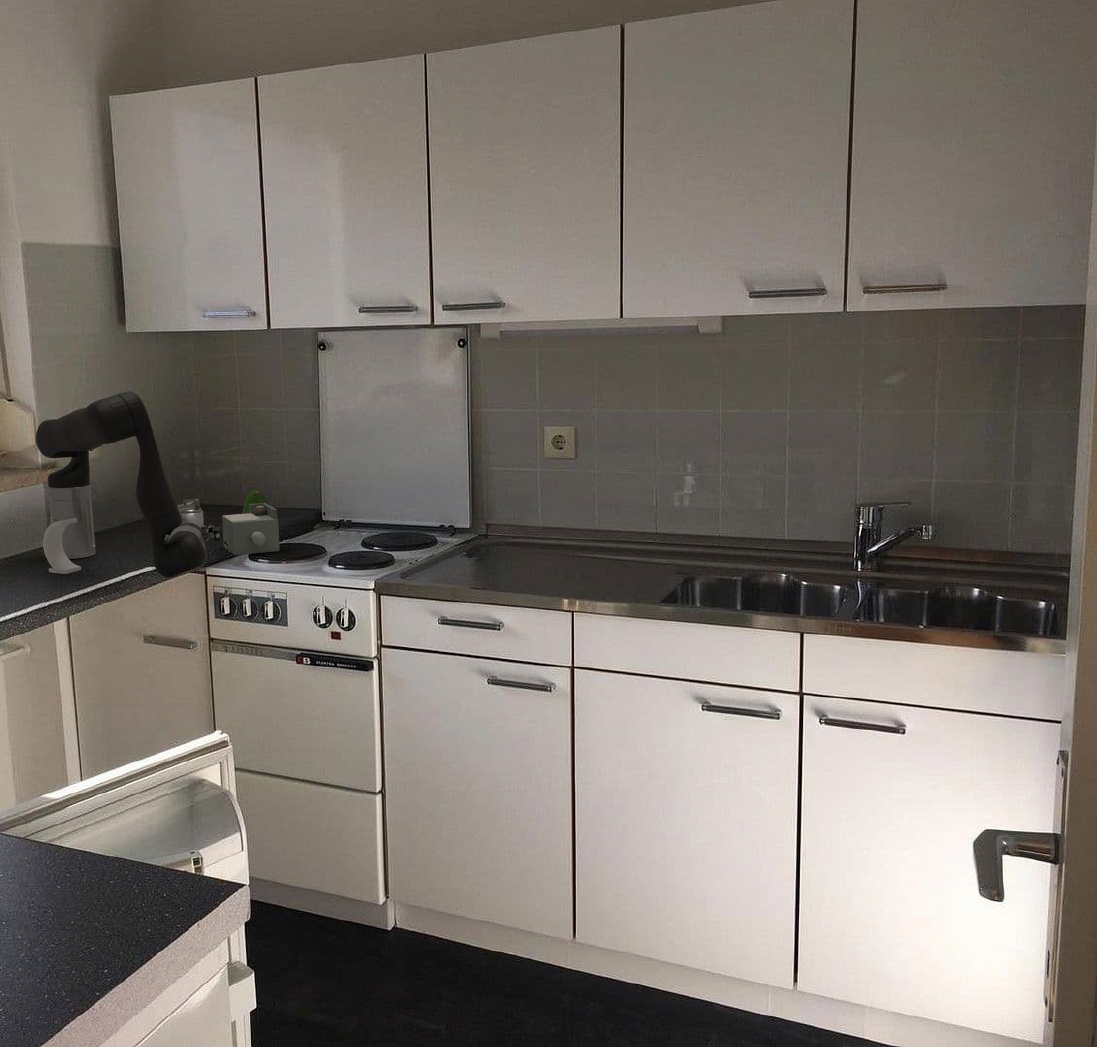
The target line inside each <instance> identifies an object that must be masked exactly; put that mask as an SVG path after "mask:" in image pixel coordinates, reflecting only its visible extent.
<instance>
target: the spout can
mask: <svg viewBox="0 0 1097 1047" xmlns="http://www.w3.org/2000/svg"><path fill="white" fill-rule="evenodd" d="M193 500H194V508H184V509H180V515H181V517H182V523H193V524H196V525H198V526H199V527H201V526H205V523H204V511H203V509H202V508H201V506H199V505H200V499H199V498H194V499H193ZM182 523H181V524H182ZM203 547H204V550H205V554H207V553H206V541H205V542H204V546H203Z"/></svg>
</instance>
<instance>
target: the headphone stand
mask: <svg viewBox="0 0 1097 1047" xmlns="http://www.w3.org/2000/svg"><path fill="white" fill-rule="evenodd" d="M74 522H77V518H73V519H68V520H63V521H58V522H54V523H52V524H51V523H50V524H49V525H48V527H47V528H46V530H45V531H44V534H43V538H42V540H43V541H42V544H43V545H42V546H43V551H44V556H45V558H46V560H47V562H48V563H49V565H50V566H51V567H50V568H48V572H49V573H54V574H60V575H61V574H62V575H67V574H71V573H74V572H75V573H76V572H78V571H81V570H82V566H81V565H77V564H75V563H74V562H72V561H71V559H68V557H67V556H66V554H65V552H64V549H63V545H62V535H63V532H64V529H65V528H66V526H67V525H69V524H70V523H74Z"/></svg>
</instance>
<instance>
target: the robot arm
mask: <svg viewBox="0 0 1097 1047" xmlns="http://www.w3.org/2000/svg"><path fill="white" fill-rule="evenodd" d="M132 437H136V440H137V444H138V448H139V466H138V468H139V469H138V474H137V479H136V488H135V496H136V501H137V504H138V507H139V509H140V511H141V514H142V516H143V520H144V522H145V524H146V525H147V529H148V532H149V534H150V541H151V547H152V548H151V549H152V558H153V564H154V567H155V568H154V569H155V570H156V571H157V572H158V574H159V575H160V576H162V577H164V578H173V577H176V576H179V575H181V574H183V573H187V572H189V571H192V570H194V569H197V568H199V567H200V566H202V565H204V563H205V561H206V559H207V558H206V557H207V555H206V554H207V553H206V554H205V552H206V549H205V550H204V547H203V546H204V542H205V543H206V542H208V541H209V539H212V540H213V541H214V542H219V541H221V539H222V538H223V527H222V526H220V525H217V526H216V527H215V525H213V524H211V523H209V524H208V526H207V525H206V526H205V525H204V526H201V527H199V526H198V525H196V524H193V523H182V517H181V515H180V512H179V510H178V508H177V505H178V504H177V503H176V501H175V499H174V496H173V493H172V491H171V489H170V486H169V483H168V481H167V476H166V474H165V471H164V466H163V463H162V460H161V455H160V451H159V448H158V444H157V440H156V437H155V433H154V430H153V426H152V422H151V419H150V416H149V413H148V411H147V407H146V406H145V404H144V402H143V401H142V399H141V398H140V396H139V395H138V394H136V393H135V392H133V391H124V392H122V393H121V392H120V393H118V394H114V395H111V396H108V397H104V398H101V399H97V400H95V401H93V402H91V403H90V404H88V406H86V407H81V408H78V409H76V410H74V411H71V412H69V413H67V414H65V415H63V416H61V417H59V418H57V419H55V418H54V419H46V420H43V421H42V422H41V423H40V424H39V425H38V427H37V429H36V434H35V442H36V446H37V449H38V450H39V452H40V453H41V454H42V456H44V457H45V458H49V459H62V458H63V459H64V458H70V462H69V463H68V464H67V465H65V466H64V467H63V468H61V469H59V470H57V471H53V472H51V473H50V474H49V475H48V476H47V487H48V498H49V509H50V510H49V512H50V517H49V519H50V525H51V524H52V523H54V522H58V521H63V520H68V519H73V518H77V522H74V523H70V524H69V525H67V526H66V528H65V529H64V532H63V535H62V545H63V549H64V552H65V554H66V556H67V557H68V559H69V560H71V559H72V560H73V559H82V558H88V557H92V556H95V555H96V541H95V540H96V539H95V529H94V528H95V526H94V518H93V517H94V516H93V502H92V492H91V491H92V490H91V480H90V479H91V476H90V473H91V470H90V469H91V468H90V451H91V450H94V449H97V448H99V447H101V446H104V445H110V444H115V443H118V442H121V441H125V440H127V439H130V438H132ZM181 523H182V524H181ZM166 542H167V543H166Z"/></svg>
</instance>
